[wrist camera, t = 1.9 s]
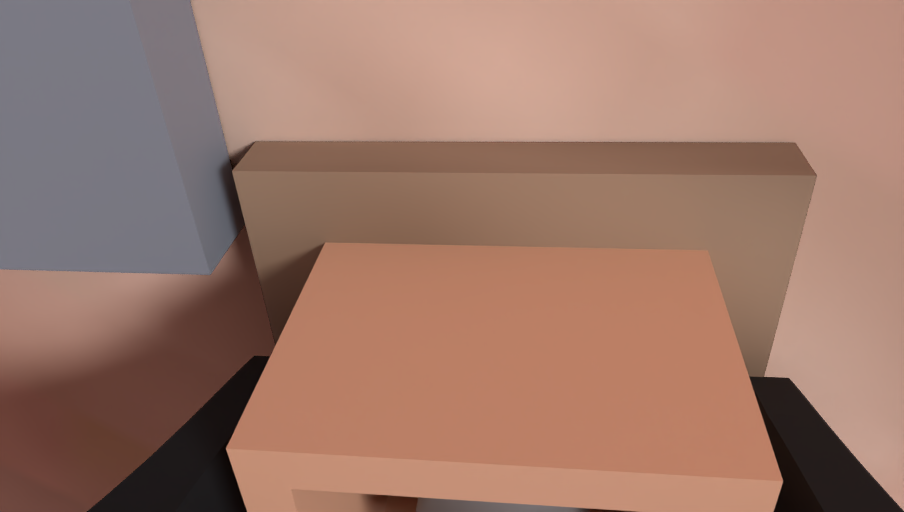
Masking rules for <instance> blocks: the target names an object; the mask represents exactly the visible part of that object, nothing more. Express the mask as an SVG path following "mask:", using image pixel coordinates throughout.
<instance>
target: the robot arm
mask: <svg viewBox="0 0 904 512" xmlns="http://www.w3.org/2000/svg"><path fill="white" fill-rule="evenodd" d="M269 358H270V357H269V356H254V357H253V358H251V359H250V360H249V361H248V362H247V363H246V364H245V365H244V366H243V367H242V368H241V369H240V370H239V371H238V372H237V373H236V374H235V375H234V376H233V377H232V378H231V379H230V380H229V381H228V382H227V383H226V384H225V385H224V386H223V387H222V388H221V389H220V390H219V391H218V392H217V393H216V394H215V395H214V396H213V397H212V398H211V399H210V400H209V401H208V402H207V403H206V404H205V405H204V406H203V407H202V408H201V409H200V410H199V411H198V412H197V413H196V414H195V415H194V416H193V417H192V418H191V419H189V420H188V421H187V422H186V423H185V424H184V425H183V426H182V427H181V428H180V429H179V430H178V431H177V432H176V433H175V434H174V435H173V436H172V437H171V438H170V439H169V440H167V441H166V442H165V443H164V444H163V445H162V446H161V447H160V448H159V449H158V450H157V451H156V452H155V453H154V454H153V455H152V456H151V457H149V458H148V459H147V460H146V461H145V462H144V463H143V464H142V465H140V466H139V467H138V468H137V469H136V470H135V471H134V472H133V473H131V474H130V475H129V476H128V477H127V478H126V479H125V480H123V481H122V482H121V483H120V484H119V485H118V486H117V487H115V488H114V489H113V490H112V491H111V492H110V493H109V494H108V495H106V496H105V497H104V498H103V499H102V500H100V501H99V502H98V503H97V504H96V505H94V506H93V507H92V508H91V509H90V510H88V511H87V512H247V510H246V507H245V504H244V501H243V498H242V495H241V492H240V489H239V486H238V483H237V480H236V477H235V474H234V471H233V468H232V465H231V462H230V459H229V456H228V453H227V450H226V447H227V445H228V443H229V441H230V439H231V437H232V435H233V433H234V431H235V429H236V427H237V425H238V422H239V420H240V418H241V416H242V414H243V412H244V410H245V408H246V406H247V404H248V402H249V400H250V398H251V395H252V393H253V391H254V389H255V387H256V385H257V383H258V381H259V379H260V377H261V375H262V373H263V371H264V368H265V366H266V364H267V362H268V360H269ZM749 378H750V381H751V384H752V387H753V390H754V393H755V396H756V399H757V402H758V405H759V409H760V412H761V415H762V418H763V421H764V424H765V427H766V430H767V433H768V436H769V439H770V442H771V445H772V448H773V451H774V454H775V458H776V461H777V464H778V467H779V470H780V473H781V476H782V479H783V484H782V487H781V490H780V493H779V496H778V499H777V502H776V506H775V509H774V512H904V511H903V510H902V509H901V508H900V507H899V505H898V504H897V503H896V502H895V501H894V500H893V499H892V498H891V497H890V496H889V494H888V493H887V492H886V491H885V490H884V489H883V488H882V487H881V486H880V484H879V483H878V482H877V481H876V480H875V479H874V478H873V477H872V476H871V474H870V473H869V472H868V471H867V470H866V469H865V468H864V467H863V465H862V464H861V463H860V462H859V461H858V460H857V459H856V457H855V456H854V455H853V454H852V453H851V452H850V450H849V449H848V448H847V447H846V446H845V444H844V443H843V442H842V441H841V440H840V439H839V437H838V436H837V435H836V434H835V433H834V431H833V430H832V429H831V428H830V427H829V425H828V424H827V423H826V422H825V421H824V419H823V418H822V417H821V416H820V415H819V413H818V412H817V411H816V410H815V408H814V407H813V406H812V405H811V404H810V402H809V401H808V400H807V399H806V397H805V396H804V395H803V394H802V393H801V391H800V390H799V389H798V388H797V387H796V385H795V384H794V383H793V382H792V381H791V380H790V379H789V378H776V377H752V376H749Z"/></svg>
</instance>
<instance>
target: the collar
mask: <svg viewBox="0 0 904 512" xmlns="http://www.w3.org/2000/svg"><path fill="white" fill-rule="evenodd" d="M226 450H227V453H228V456H229V459H230V462H231V465H232V468H233V471H234V474H235V477H236V480H237V483H238V486H239V489H240V492H241V495H242V498H243V501H244V504H245V507H246V510H247V512H416V507H417V501H418V497H422V498H437V499H452V500H468V501H483V502H498V503H514V504H529V505H544V506H560V507H575V508H590V512H774V509H775V506H776V502H777V499H778V496H779V493H780V490H781V487H782V484H783V479H782V476H781V473H780V470H779V467H778V464H777V461H776V458H775V454H774V451H773V448H772V445H771V442H770V439H769V436H768V433H767V430H766V427H765V424H764V421H763V418H762V415H761V412H760V409H759V405H758V402H757V399H756V396H755V393H754V390H753V387H752V384H751V381H750V378H749V375H748V372H747V369H746V366H745V363H744V360H743V356H742V353H741V350H740V347H739V344H738V341H737V338H736V335H735V332H734V329H733V326H732V323H731V320H730V317H729V314H728V311H727V307H726V304H725V301H724V298H723V295H722V292H721V289H720V286H719V283H718V280H717V277H716V274H715V271H714V268H713V265H712V262H711V258H710V255H709V252H708V250H667V249H618V248H569V247H520V246H472V245H423V244H374V243H325V244H324V246H323V248H322V250H321V252H320V254H319V256H318V258H317V260H316V263H315V265H314V267H313V269H312V271H311V273H310V275H309V277H308V279H307V281H306V283H305V285H304V287H303V290H302V292H301V294H300V296H299V298H298V300H297V302H296V304H295V306H294V308H293V310H292V312H291V314H290V317H289V319H288V321H287V323H286V325H285V327H284V329H283V331H282V333H281V335H280V337H279V339H278V341H277V344H276V346H275V348H274V350H273V352H272V354H271V356H270V358H269V360H268V362H267V364H266V366H265V368H264V371H263V373H262V375H261V377H260V379H259V381H258V383H257V385H256V387H255V389H254V391H253V393H252V395H251V398H250V400H249V402H248V404H247V406H246V408H245V410H244V412H243V414H242V416H241V418H240V420H239V422H238V425H237V427H236V429H235V431H234V433H233V435H232V437H231V439H230V441H229V443H228V445H227V447H226Z"/></svg>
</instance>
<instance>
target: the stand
mask: <svg viewBox="0 0 904 512" xmlns="http://www.w3.org/2000/svg"><path fill="white" fill-rule="evenodd" d="M232 173H233V177H234V181H235V185H236V189H237V193H238V197H239V201H240V205H241V209H242V213H243V217H244V221H245V225H246V229H247V233H248V237H249V241H250V245H251V249H252V253H253V257H254V261H255V265H256V269H257V273H258V277H259V281H260V285H261V289H262V293H263V297H264V301H265V305H266V309H267V313H268V317H269V321H270V325H271V329H272V333H273V337H274V341H275V345H276V344H277V341H278V339H279V337H280V335H281V333H282V331H283V329H284V327H285V325H286V323H287V321H288V319H289V317H290V314H291V312H292V310H293V308H294V306H295V304H296V302H297V300H298V298H299V296H300V294H301V292H302V290H303V287H304V285H305V283H306V281H307V279H308V277H309V275H310V273H311V271H312V269H313V267H314V265H315V263H316V260H317V258H318V256H319V254H320V252H321V250H322V248H323V246H324V244H325V243H374V244H423V245H472V246H520V247H569V248H618V249H667V250H708V252H709V255H710V258H711V262H712V265H713V268H714V271H715V274H716V277H717V280H718V283H719V286H720V289H721V292H722V295H723V298H724V301H725V304H726V307H727V311H728V314H729V317H730V320H731V323H732V326H733V329H734V332H735V335H736V338H737V341H738V344H739V347H740V350H741V353H742V356H743V360H744V363H745V366H746V369H747V372H748V375H749V376H752V377H764V375H765V371H766V367H767V363H768V360H769V356H770V352H771V348H772V344H773V341H774V337H775V333H776V329H777V325H778V322H779V318H780V314H781V310H782V306H783V303H784V299H785V295H786V291H787V287H788V284H789V280H790V276H791V272H792V268H793V265H794V261H795V257H796V253H797V250H798V246H799V242H800V238H801V234H802V231H803V227H804V223H805V219H806V215H807V212H808V208H809V204H810V200H811V196H812V193H813V189H814V185H815V181H816V177H817V175H816V173H815V172H814V170H813V169H812V167H811V166H810V164H809V163H808V161H807V160H806V158H805V157H804V155H803V154H802V152H801V151H800V149H799V147H798V146H797V144H796V143H677V142H255V143H254V144H253V146H252V147H251V148H250V149H249V151H248V152H247V153H246V154H245V155H244V157H243V158H242V159H241V160H240V162H239V163H238V164H237V165H236V167H235V168H234V169H233V170H232ZM416 512H590V508H575V507H560V506H544V505H529V504H514V503H498V502H483V501H468V500H452V499H437V498H422V497H418V501H417V507H416Z"/></svg>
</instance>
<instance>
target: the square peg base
mask: <svg viewBox="0 0 904 512" xmlns="http://www.w3.org/2000/svg"><path fill="white" fill-rule="evenodd" d="M244 225H245V221H244V217H243V213H242V209H241V205H240V201H239V197H238V193H237V189H236V185H235V181H234V177H233V173H232V167H231V163H230V159H229V155H228V151H227V147H226V143H225V139H224V135H223V131H222V127H221V123H220V119H219V115H218V111H217V107H216V103H215V99H214V95H213V91H212V87H211V83H210V79H209V75H208V71H207V67H206V63H205V59H204V55H203V51H202V47H201V43H200V39H199V35H198V31H197V27H196V23H195V19H194V15H193V11H192V6H191V2H190V0H0V269H9V270H47V271H84V272H121V273H158V274H196V275H211V273H212V272H213V270H214V269H215V267H216V266H217V265H218V263H219V262H220V260H221V259H222V257H223V256H224V254H225V253H226V251H227V250H228V248H229V247H230V245H231V244H232V242H233V241H234V239H235V238H236V237H237V235H238V234H239V232H240V231H241V229H242V228H243V226H244Z"/></svg>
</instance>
